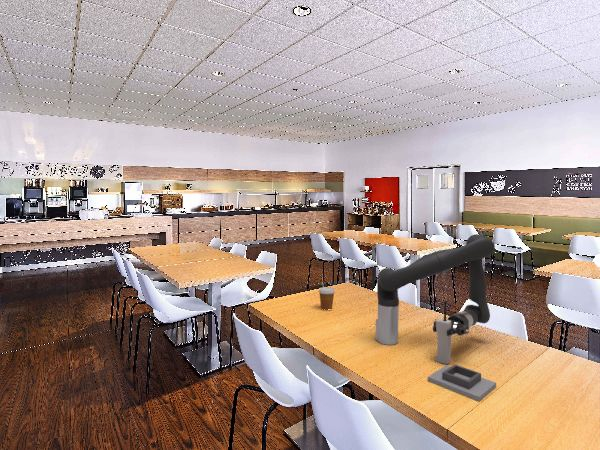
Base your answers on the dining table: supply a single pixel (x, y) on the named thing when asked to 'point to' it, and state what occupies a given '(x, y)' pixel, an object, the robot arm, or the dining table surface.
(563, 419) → the dining table surface
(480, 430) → the dining table surface
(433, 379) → the dock board
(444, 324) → the vintage mobile phone
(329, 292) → the disposable coffee cup
